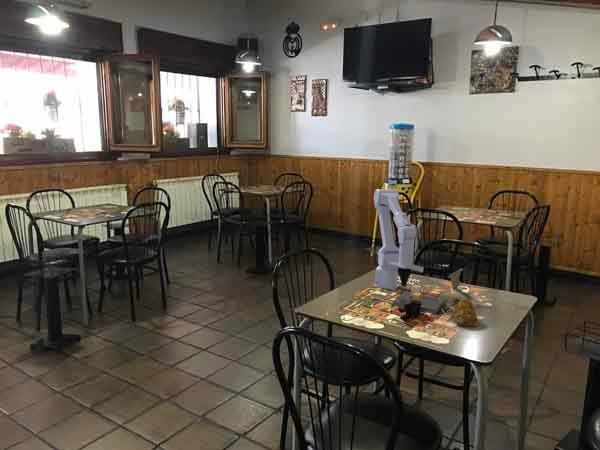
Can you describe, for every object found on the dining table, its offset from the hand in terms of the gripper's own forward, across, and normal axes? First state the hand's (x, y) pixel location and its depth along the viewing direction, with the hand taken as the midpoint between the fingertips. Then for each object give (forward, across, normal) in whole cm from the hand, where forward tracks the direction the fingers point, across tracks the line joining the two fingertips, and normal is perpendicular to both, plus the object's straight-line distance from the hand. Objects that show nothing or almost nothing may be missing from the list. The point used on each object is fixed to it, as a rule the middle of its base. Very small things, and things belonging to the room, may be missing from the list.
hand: (404, 285), depth 199 cm
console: (+5, +8, -4) cm, 10 cm away
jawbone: (+5, +19, +15) cm, 25 cm away
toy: (+6, +9, -20) cm, 22 cm away
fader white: (+3, +5, 0) cm, 6 cm away
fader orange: (+3, +8, -8) cm, 12 cm away
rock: (+6, +27, -13) cm, 31 cm away
